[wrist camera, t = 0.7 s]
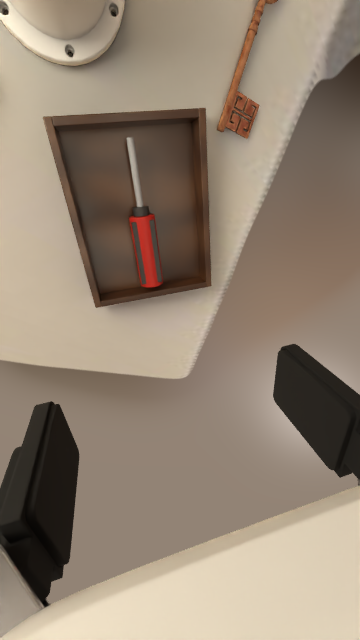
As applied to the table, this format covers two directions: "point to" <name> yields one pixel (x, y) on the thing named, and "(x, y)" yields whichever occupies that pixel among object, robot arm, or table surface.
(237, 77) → the key
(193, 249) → the wooden tray
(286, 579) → the robot arm
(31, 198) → the table surface
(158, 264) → the screwdriver
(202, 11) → the table surface
